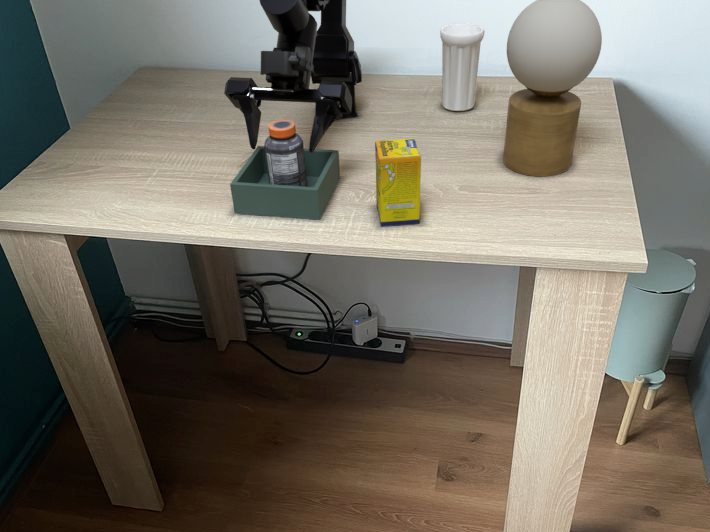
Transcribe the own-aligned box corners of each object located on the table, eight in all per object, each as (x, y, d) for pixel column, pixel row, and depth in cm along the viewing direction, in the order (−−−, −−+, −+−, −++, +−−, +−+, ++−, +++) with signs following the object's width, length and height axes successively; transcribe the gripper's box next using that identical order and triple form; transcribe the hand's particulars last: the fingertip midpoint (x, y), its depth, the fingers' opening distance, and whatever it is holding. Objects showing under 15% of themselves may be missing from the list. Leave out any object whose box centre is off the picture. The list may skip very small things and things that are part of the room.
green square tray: (261, 173, 122) (257, 145, 119) (340, 178, 120) (338, 150, 116) (234, 213, 112) (229, 184, 109) (319, 220, 110) (317, 189, 106)
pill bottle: (286, 180, 119) (279, 113, 112) (315, 189, 116) (309, 120, 109) (262, 195, 115) (253, 126, 108) (291, 204, 112) (284, 135, 105)
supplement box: (375, 207, 112) (374, 140, 105) (414, 204, 112) (415, 137, 105) (379, 227, 107) (378, 158, 100) (420, 224, 107) (421, 154, 100)
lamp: (505, 134, 131) (520, -18, 115) (586, 142, 127) (613, -14, 111) (487, 171, 120) (501, 8, 104) (576, 181, 116) (604, 14, 100)
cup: (430, 110, 140) (432, 32, 131) (448, 96, 146) (451, 20, 136) (468, 117, 137) (473, 38, 128) (486, 102, 142) (492, 25, 133)
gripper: (218, 21, 105) (203, 126, 104) (344, 24, 101) (330, 132, 100) (243, 58, 116) (230, 153, 115) (358, 62, 112) (345, 160, 111)
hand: (281, 150), depth 110 cm, fingers open, 9 cm apart
